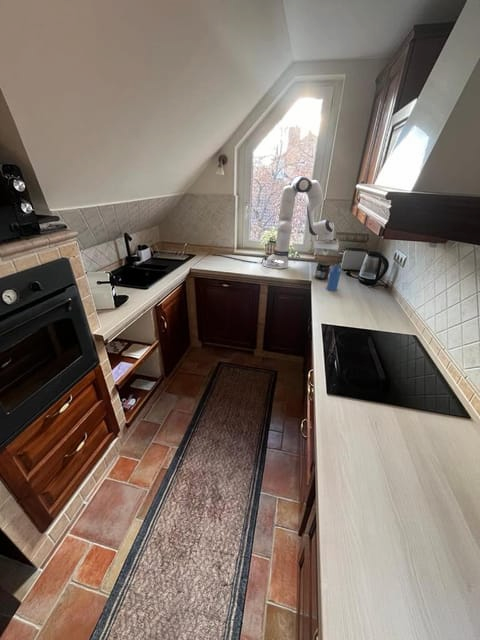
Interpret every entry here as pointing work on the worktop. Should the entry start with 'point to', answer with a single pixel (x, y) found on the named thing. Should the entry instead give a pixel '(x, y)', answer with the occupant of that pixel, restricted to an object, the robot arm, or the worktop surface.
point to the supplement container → (322, 270)
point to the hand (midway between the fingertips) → (324, 254)
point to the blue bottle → (334, 278)
